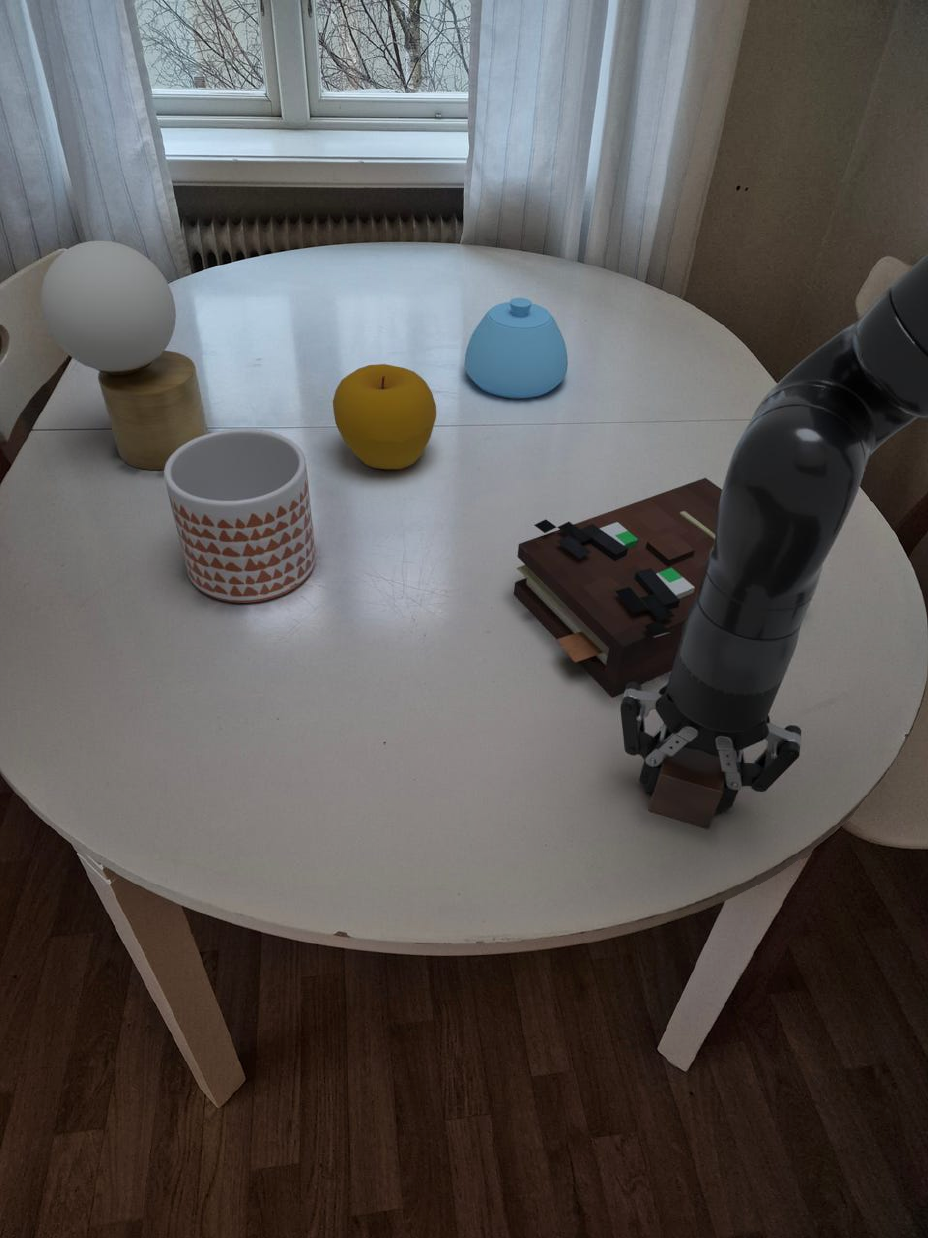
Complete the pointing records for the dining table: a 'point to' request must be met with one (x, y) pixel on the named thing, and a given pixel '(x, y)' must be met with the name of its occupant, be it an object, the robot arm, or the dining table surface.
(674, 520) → the decorative book
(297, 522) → the planter
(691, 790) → the walnut block
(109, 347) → the lamp
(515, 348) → the sugar bowl
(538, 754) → the dining table surface
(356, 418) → the apple
